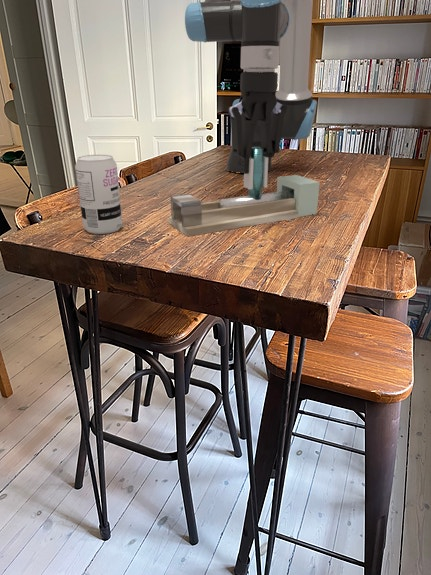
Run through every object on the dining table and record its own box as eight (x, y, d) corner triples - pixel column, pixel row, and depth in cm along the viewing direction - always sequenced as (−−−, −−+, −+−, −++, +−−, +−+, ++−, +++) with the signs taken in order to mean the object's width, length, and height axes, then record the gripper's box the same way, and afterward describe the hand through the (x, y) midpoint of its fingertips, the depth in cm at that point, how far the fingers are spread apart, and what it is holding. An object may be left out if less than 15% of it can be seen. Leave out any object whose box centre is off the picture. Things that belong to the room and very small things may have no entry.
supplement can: (87, 223, 100) (78, 154, 93) (124, 222, 101) (118, 153, 94) (80, 235, 93) (69, 161, 86) (120, 234, 93) (113, 160, 87)
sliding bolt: (218, 212, 101) (218, 149, 95) (291, 201, 109) (295, 143, 103) (225, 216, 98) (225, 152, 92) (299, 205, 106) (304, 145, 100)
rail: (169, 223, 100) (167, 194, 97) (273, 207, 111) (275, 181, 108) (187, 236, 92) (186, 205, 89) (297, 217, 103) (300, 189, 100)
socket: (275, 207, 111) (277, 177, 108) (294, 204, 113) (296, 174, 110) (297, 217, 104) (300, 184, 100) (316, 213, 106) (319, 182, 103)
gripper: (233, 70, 84) (231, 194, 94) (303, 70, 91) (294, 186, 101) (215, 71, 90) (215, 187, 100) (281, 70, 97) (276, 180, 107)
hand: (255, 186), depth 101 cm, fingers closed on sliding bolt, 3 cm apart
